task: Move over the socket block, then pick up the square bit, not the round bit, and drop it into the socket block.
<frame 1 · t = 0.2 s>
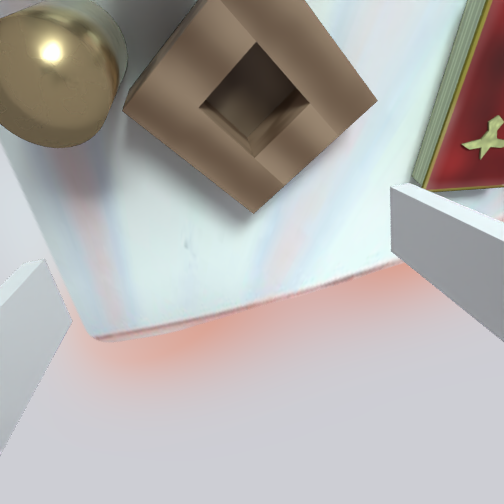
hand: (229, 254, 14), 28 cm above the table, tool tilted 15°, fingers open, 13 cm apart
socket block: (245, 85, 37), on the table
round bit: (80, 49, 33), on the table
hardcover book: (480, 89, 42), on the table
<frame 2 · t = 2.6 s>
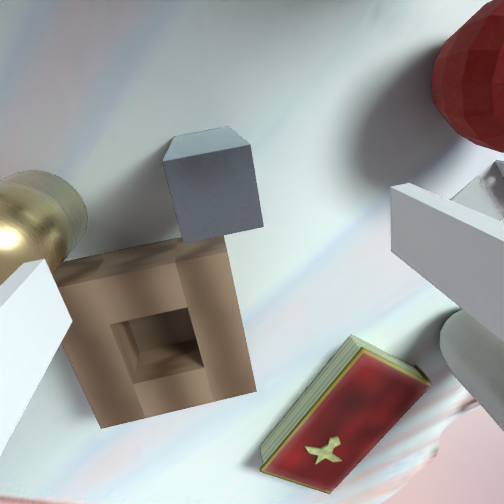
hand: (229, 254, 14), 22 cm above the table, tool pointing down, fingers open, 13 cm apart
square bit: (207, 159, 35), on the table
bracket: (474, 209, 41), on the table
socket block: (163, 312, 40), on the table
round bit: (41, 214, 34), on the table
grey rounded tall shape: (460, 323, 47), on the table
apple: (459, 76, 35), on the table
hardcover book: (334, 403, 50), on the table
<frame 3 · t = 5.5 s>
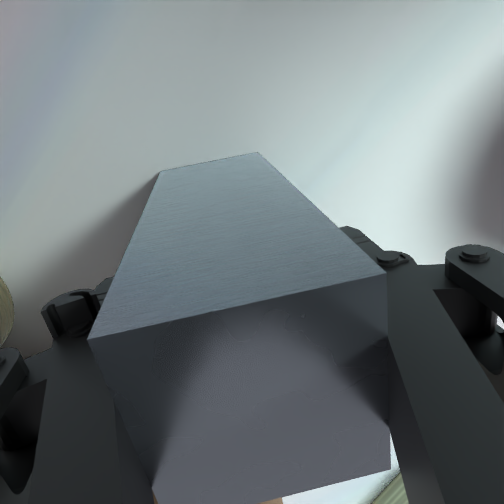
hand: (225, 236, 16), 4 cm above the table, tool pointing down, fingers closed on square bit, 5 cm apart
square bit: (219, 208, 20), on the table, touching gripper
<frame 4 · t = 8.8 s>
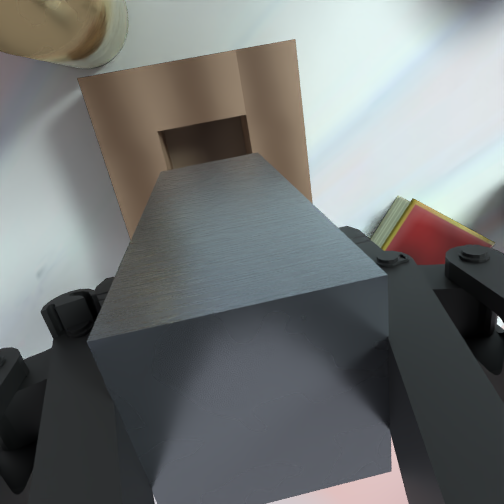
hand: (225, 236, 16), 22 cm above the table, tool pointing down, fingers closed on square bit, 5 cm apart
square bit: (219, 208, 20), point 17 cm above the table, touching gripper
socket block: (209, 156, 36), on the table
round bit: (76, 13, 30), on the table
hardcover book: (383, 286, 45), on the table
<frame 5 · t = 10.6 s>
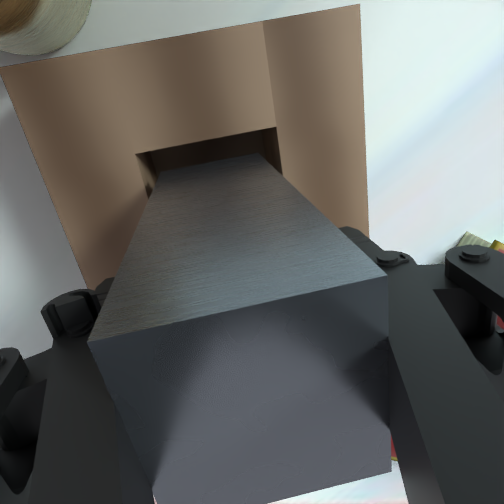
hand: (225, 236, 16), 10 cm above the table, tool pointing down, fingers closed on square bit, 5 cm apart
square bit: (219, 208, 20), point 6 cm above the table, touching gripper
socket block: (215, 182, 25), on the table
hardcover book: (441, 345, 35), on the table
when the fingers open (8 cm above the table, at t = 12.1 s): square bit drops 2 cm, resting on socket block.
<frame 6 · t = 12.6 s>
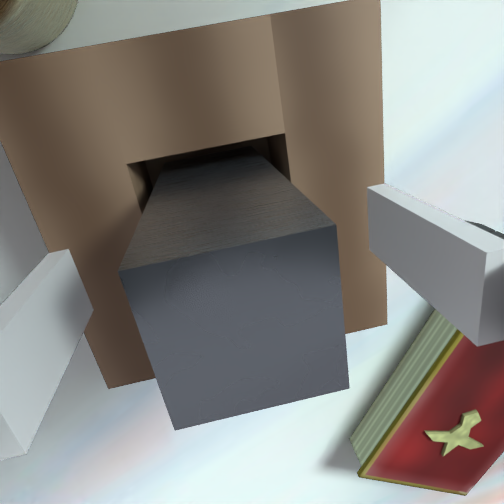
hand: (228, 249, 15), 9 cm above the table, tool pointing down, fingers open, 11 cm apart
square bit: (217, 196, 22), point 1 cm above the table, touching socket block
socket block: (216, 192, 23), on the table
hardcover book: (454, 361, 33), on the table
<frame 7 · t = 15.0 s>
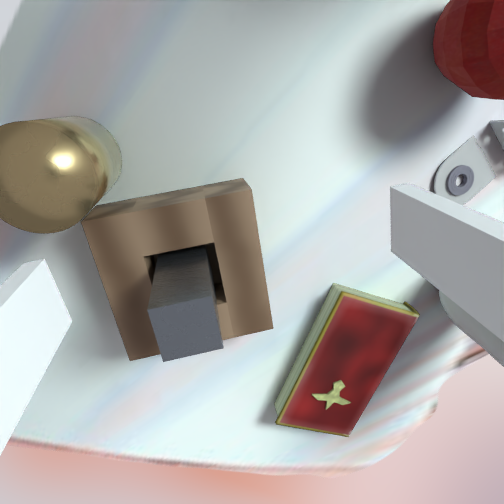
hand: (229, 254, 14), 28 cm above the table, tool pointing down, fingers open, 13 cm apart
square bit: (187, 261, 42), point 1 cm above the table, touching socket block
bracket: (470, 167, 46), on the table
socket block: (187, 258, 43), on the table
round bit: (80, 158, 38), on the table
grey rounded tall shape: (457, 278, 51), on the table
apple: (457, 41, 39), on the table
hardcover book: (335, 352, 53), on the table
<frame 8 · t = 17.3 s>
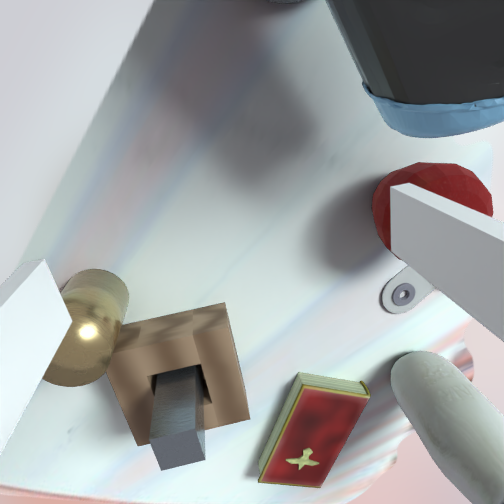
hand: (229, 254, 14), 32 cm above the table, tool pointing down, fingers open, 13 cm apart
square bit: (181, 364, 53), point 1 cm above the table, touching socket block
bracket: (413, 281, 55), on the table
socket block: (182, 360, 54), on the table
round bit: (97, 296, 49), on the table
grey rounded tall shape: (408, 363, 61), on the table
apple: (395, 196, 49), on the table
hardcover book: (306, 420, 64), on the table
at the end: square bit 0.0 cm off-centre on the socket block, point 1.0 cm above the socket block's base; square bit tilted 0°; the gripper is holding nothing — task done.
